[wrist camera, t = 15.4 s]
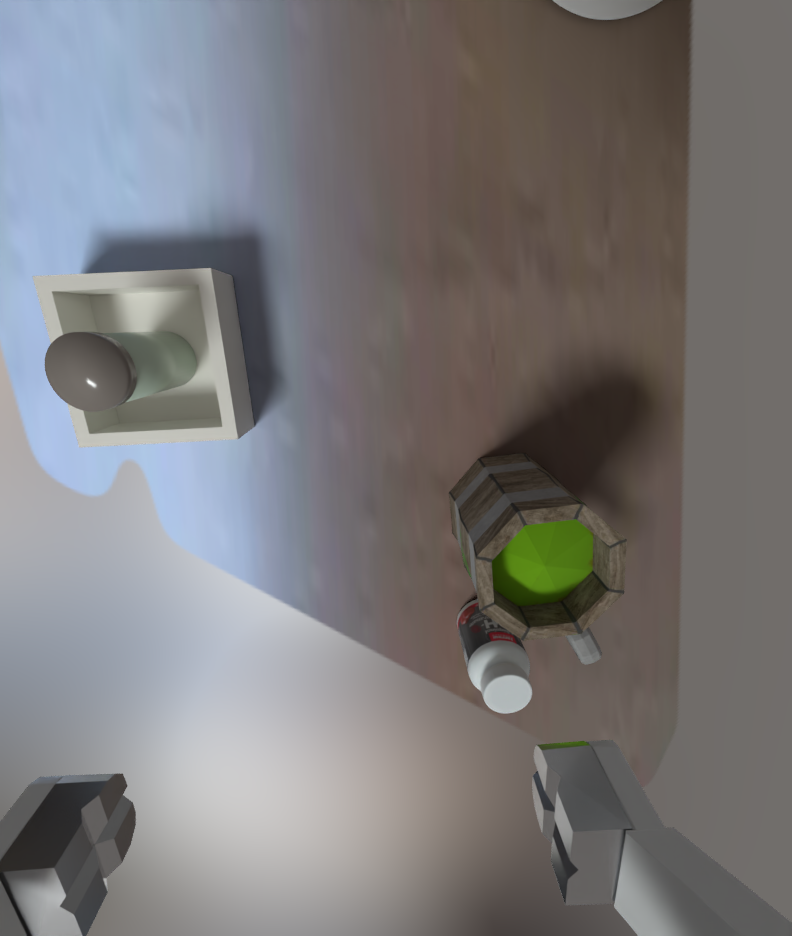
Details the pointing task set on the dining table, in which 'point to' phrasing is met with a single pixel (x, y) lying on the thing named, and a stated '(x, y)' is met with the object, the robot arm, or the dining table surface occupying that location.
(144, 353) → the spice jar
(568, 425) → the dining table surface
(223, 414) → the bin
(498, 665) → the pill bottle
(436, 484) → the dining table surface
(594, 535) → the mug
